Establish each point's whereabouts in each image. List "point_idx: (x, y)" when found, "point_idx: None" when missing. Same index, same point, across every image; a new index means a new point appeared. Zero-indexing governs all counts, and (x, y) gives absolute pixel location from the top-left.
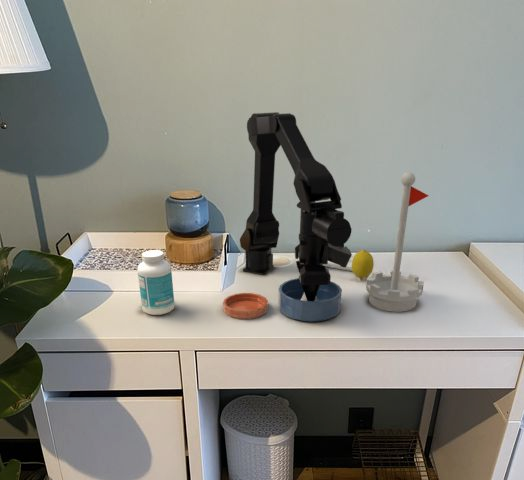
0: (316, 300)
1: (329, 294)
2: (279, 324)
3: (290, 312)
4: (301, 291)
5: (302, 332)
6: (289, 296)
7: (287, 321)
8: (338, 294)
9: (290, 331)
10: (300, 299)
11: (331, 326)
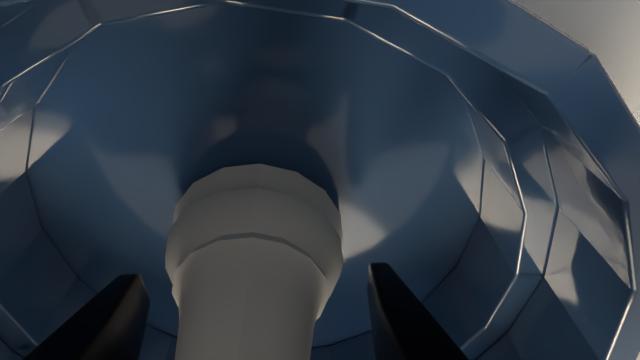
0: (291, 230)
1: (33, 67)
2: None
3: None
4: (46, 311)
5: None
6: (151, 357)
7: None
8: (477, 31)
9: None
10: (121, 273)
11: (626, 56)
